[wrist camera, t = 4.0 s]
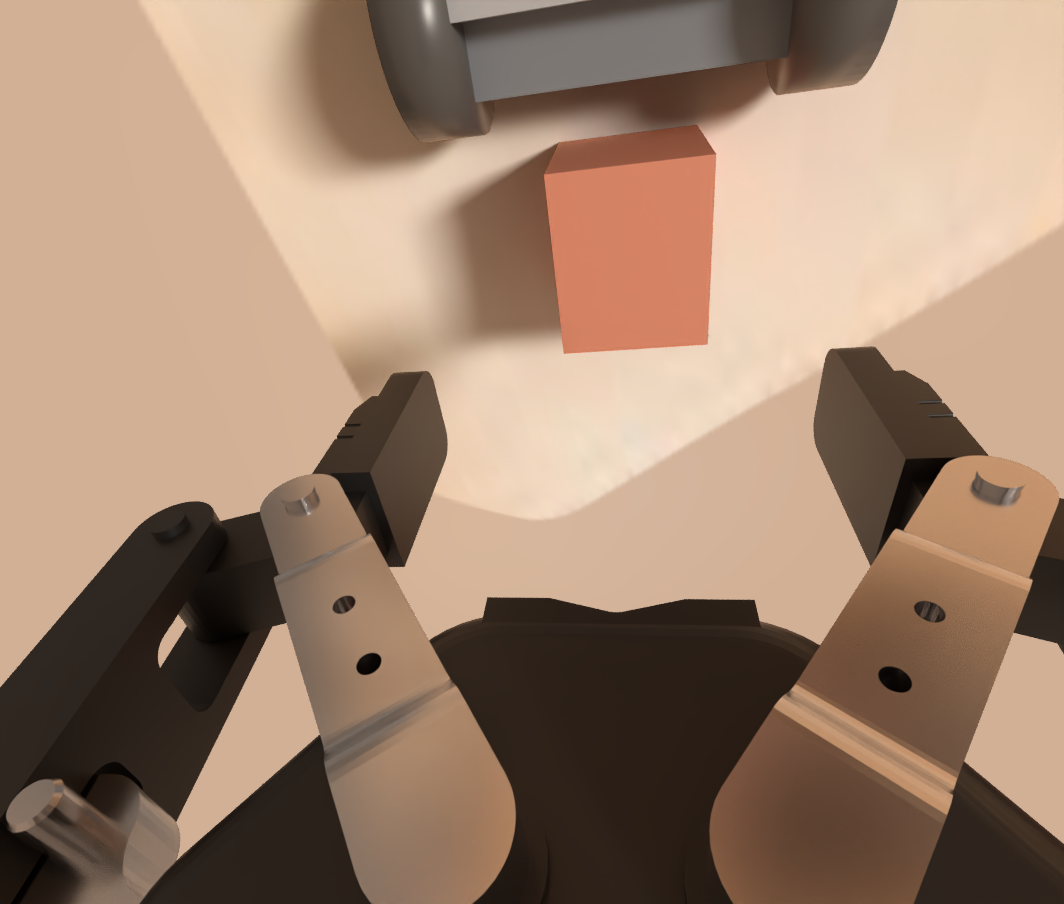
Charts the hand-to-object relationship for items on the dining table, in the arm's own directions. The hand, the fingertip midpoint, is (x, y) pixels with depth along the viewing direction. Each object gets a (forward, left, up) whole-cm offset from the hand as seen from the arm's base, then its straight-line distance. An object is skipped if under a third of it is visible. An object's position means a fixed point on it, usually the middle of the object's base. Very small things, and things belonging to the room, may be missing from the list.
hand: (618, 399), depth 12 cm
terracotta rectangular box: (0, 0, -14) cm, 14 cm away
